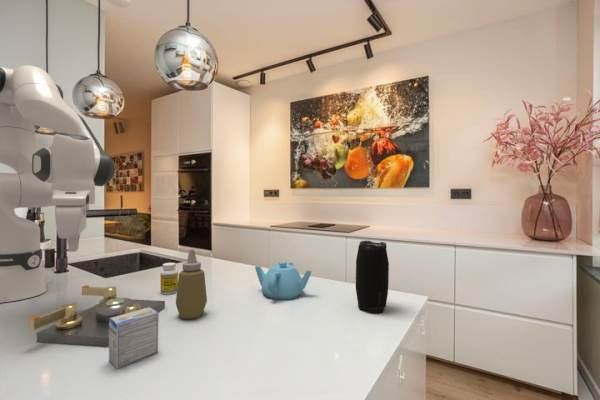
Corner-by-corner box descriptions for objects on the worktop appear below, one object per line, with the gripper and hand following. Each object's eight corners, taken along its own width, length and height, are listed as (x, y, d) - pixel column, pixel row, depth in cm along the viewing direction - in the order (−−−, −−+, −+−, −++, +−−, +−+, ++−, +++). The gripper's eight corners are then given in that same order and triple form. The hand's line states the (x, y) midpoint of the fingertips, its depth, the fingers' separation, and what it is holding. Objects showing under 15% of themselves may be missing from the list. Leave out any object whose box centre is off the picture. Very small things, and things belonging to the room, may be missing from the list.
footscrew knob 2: (124, 301, 84) (124, 284, 84) (111, 307, 79) (111, 290, 79) (90, 299, 85) (90, 283, 85) (75, 305, 80) (75, 288, 80)
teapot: (253, 290, 102) (253, 259, 102) (291, 284, 109) (292, 255, 109) (269, 304, 89) (270, 269, 89) (312, 297, 96) (313, 264, 96)
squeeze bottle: (173, 323, 75) (173, 253, 75) (177, 310, 83) (178, 247, 83) (206, 319, 77) (206, 251, 77) (207, 308, 85) (207, 246, 85)
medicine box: (149, 345, 64) (149, 306, 64) (158, 353, 61) (159, 311, 61) (108, 361, 58) (108, 317, 58) (116, 370, 55) (116, 324, 55)
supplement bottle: (176, 288, 102) (176, 261, 102) (179, 293, 98) (179, 264, 98) (159, 291, 99) (159, 263, 99) (161, 296, 95) (161, 266, 95)
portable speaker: (353, 302, 91) (354, 240, 91) (384, 304, 90) (385, 240, 90) (357, 313, 82) (358, 244, 82) (391, 315, 82) (392, 245, 82)
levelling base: (36, 342, 65) (36, 316, 65) (110, 305, 87) (110, 286, 87) (108, 346, 63) (108, 320, 63) (164, 307, 85) (164, 288, 85)
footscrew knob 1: (70, 318, 72) (70, 299, 72) (87, 320, 71) (87, 301, 71) (22, 339, 62) (22, 317, 62) (41, 341, 61) (41, 319, 61)
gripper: (64, 195, 82) (64, 244, 83) (49, 198, 65) (49, 260, 65) (92, 195, 86) (92, 242, 86) (85, 198, 68) (84, 257, 69)
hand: (73, 250), depth 76 cm, fingers closed
